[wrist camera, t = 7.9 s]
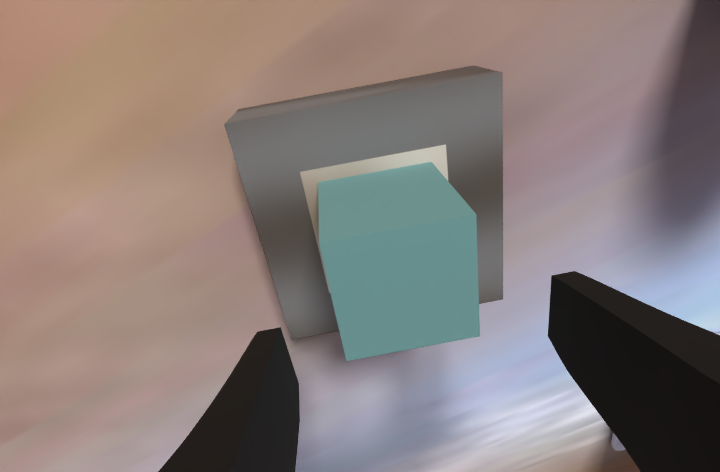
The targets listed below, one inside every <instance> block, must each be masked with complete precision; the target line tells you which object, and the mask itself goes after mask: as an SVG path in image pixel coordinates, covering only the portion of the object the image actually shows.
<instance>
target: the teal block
mask: <svg viewBox="0 0 720 472" xmlns="http://www.w3.org/2000/svg"><path fill="white" fill-rule="evenodd" d="M318 205H319V246H320V250H321V254H322V259H323V263H324V267H325V271H326V276H327V280H328V284H329V289H330V293H331V297H332V302H333V306H334V310H335V315H336V319H337V323H338V328H339V332H340V336H341V340H342V345H343V349H344V353H345V358H346V361H350V360H355V359H361V358H366V357H371V356H377V355H382V354H387V353H393V352H398V351H403V350H409V349H414V348H419V347H425V346H430V345H435V344H441V343H446V342H451V341H457V340H462V339H467V338H472V337H478V336H480V326H479V291H478V256H477V221H476V213H475V212H474V211H473V210H472V209H471V207H470V206H469V205H468V204H467V203H466V202H465V200H464V199H463V198H462V197H461V196H460V195H459V193H458V192H457V191H456V190H455V189H454V188H453V186H452V185H451V184H450V183H449V182H448V181H447V179H446V178H445V177H444V176H443V175H442V174H441V172H440V171H439V170H438V169H437V168H436V167H435V165H434V164H433V163H432V162H427V163H421V164H416V165H410V166H405V167H399V168H394V169H388V170H383V171H377V172H372V173H366V174H361V175H356V176H350V177H345V178H339V179H334V180H328V181H323V182H318Z"/></svg>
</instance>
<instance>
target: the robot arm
mask: <svg viewBox="0 0 720 472" xmlns="http://www.w3.org/2000/svg"><path fill="white" fill-rule="evenodd" d="M548 337H549V339H550V340H551V342H552V344H553V346H554V348H555V350H556V352H557V353H558V355H559V357H560V359H561V360H562V362H563V364H564V366H565V367H566V369H567V371H568V372H569V373H570V375H571V376H572V378H573V379H574V380H575V382H576V383H577V384H578V386H579V387H580V388H581V390H582V391H583V393H584V394H585V395H586V397H587V398H588V399H589V401H590V402H591V403H592V405H593V406H594V407H595V409H596V410H597V411H598V413H599V414H600V415H601V417H602V418H603V419H604V421H605V422H606V423H607V425H608V426H609V427H610V429H611V430H612V431H613V436H612V441H611V446H612V447H613V449H614V450H616V451H622V450H627V452H628V453H629V455H630V456H631V458H632V459H633V461H634V462H635V463H636V465H637V466H638V468H639V470H640V471H641V472H720V332H718V333H713V332H710V331H708V330H705V329H703V328H701V327H698V326H696V325H693V324H691V323H688V322H686V321H683V320H681V319H679V318H677V317H674V316H672V315H670V314H667V313H665V312H663V311H661V310H658V309H656V308H654V307H652V306H650V305H647V304H645V303H643V302H641V301H639V300H637V299H634V298H632V297H630V296H628V295H626V294H624V293H622V292H620V291H617V290H615V289H613V288H611V287H609V286H607V285H605V284H603V283H600V282H598V281H596V280H594V279H592V278H589V277H587V276H585V275H583V274H580V273H578V272H575V271H574V272H568V273H563V274H558V275H553V276H552V279H551V295H550V311H549V327H548ZM299 422H300V418H299V383H298V380H297V377H296V374H295V371H294V368H293V364H292V361H291V358H290V355H289V352H288V349H287V346H286V343H285V340H284V337H283V334H282V330H281V327H280V328H275V329H269V330H264V331H259V332H257V333H256V335H255V336H254V338H253V339H252V341H251V342H250V344H249V346H248V347H247V349H246V351H245V352H244V354H243V355H242V357H241V359H240V360H239V362H238V364H237V365H236V367H235V368H234V370H233V372H232V373H231V375H230V376H229V378H228V379H227V381H226V382H225V384H224V385H223V387H222V388H221V390H220V391H219V393H218V394H217V396H216V397H215V399H214V400H213V402H212V403H211V405H210V406H209V408H208V409H207V410H206V412H205V413H204V414H203V416H202V417H201V419H200V420H199V421H198V423H197V424H196V425H195V427H194V428H193V430H192V431H191V432H190V434H189V435H188V436H187V437H186V439H185V440H184V441H183V443H182V444H181V445H180V446H179V448H178V449H177V450H176V451H175V453H174V454H173V455H172V456H171V457H170V459H169V460H168V461H167V462H166V463H165V464H164V466H163V467H162V468H161V469H160V470H159V472H295V466H296V455H297V444H298V433H299Z"/></svg>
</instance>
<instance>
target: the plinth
mask: <svg viewBox="0 0 720 472" xmlns="http://www.w3.org/2000/svg"><path fill="white" fill-rule="evenodd" d="M224 125H225V129H226V132H227V135H228V138H229V141H230V145H231V148H232V151H233V154H234V157H235V160H236V164H237V167H238V170H239V173H240V176H241V180H242V183H243V186H244V189H245V192H246V196H247V199H248V202H249V205H250V208H251V212H252V215H253V218H254V221H255V224H256V227H257V231H258V234H259V237H260V240H261V243H262V247H263V250H264V253H265V256H266V259H267V263H268V266H269V269H270V272H271V275H272V279H273V282H274V285H275V288H276V291H277V294H278V298H279V301H280V304H281V307H282V310H283V314H284V317H285V320H286V323H287V326H288V330H289V333H290V336H291V339H292V340H293V339H299V338H304V337H309V336H314V335H319V334H325V333H330V332H335V331H339V328H338V323H337V319H336V315H335V310H334V306H333V302H332V297H331V293H330V289H329V284H328V280H327V276H326V271H325V267H324V263H323V259H322V254H321V250H320V246H319V205H318V182H323V181H328V180H334V179H339V178H345V177H350V176H356V175H361V174H366V173H372V172H377V171H383V170H388V169H394V168H399V167H405V166H410V165H416V164H421V163H427V162H432V163H433V164H434V165H435V167H436V168H437V169H438V170H439V171H440V172H441V174H442V175H443V176H444V177H445V178H446V179H447V181H448V182H449V183H450V184H451V185H452V186H453V188H454V189H455V190H456V191H457V192H458V193H459V195H460V196H461V197H462V198H463V199H464V200H465V202H466V203H467V204H468V205H469V206H470V207H471V209H472V210H473V211H474V212H475V213H476V221H477V256H478V291H479V304H481V303H486V302H491V301H496V300H502V299H503V135H502V72H498V71H494V70H490V69H485V68H481V67H477V66H469V67H464V68H458V69H453V70H448V71H442V72H437V73H432V74H426V75H421V76H415V77H410V78H405V79H399V80H394V81H389V82H383V83H378V84H373V85H367V86H362V87H356V88H351V89H346V90H340V91H335V92H330V93H324V94H319V95H314V96H308V97H303V98H297V99H292V100H287V101H281V102H276V103H271V104H265V105H260V106H255V107H249V108H244V109H239V110H238V111H237V112H236V113H235V114H234V115H233V116H232V117H231V118H230V119H229V120H228V121H227V122H226V123H225V124H224Z"/></svg>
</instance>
